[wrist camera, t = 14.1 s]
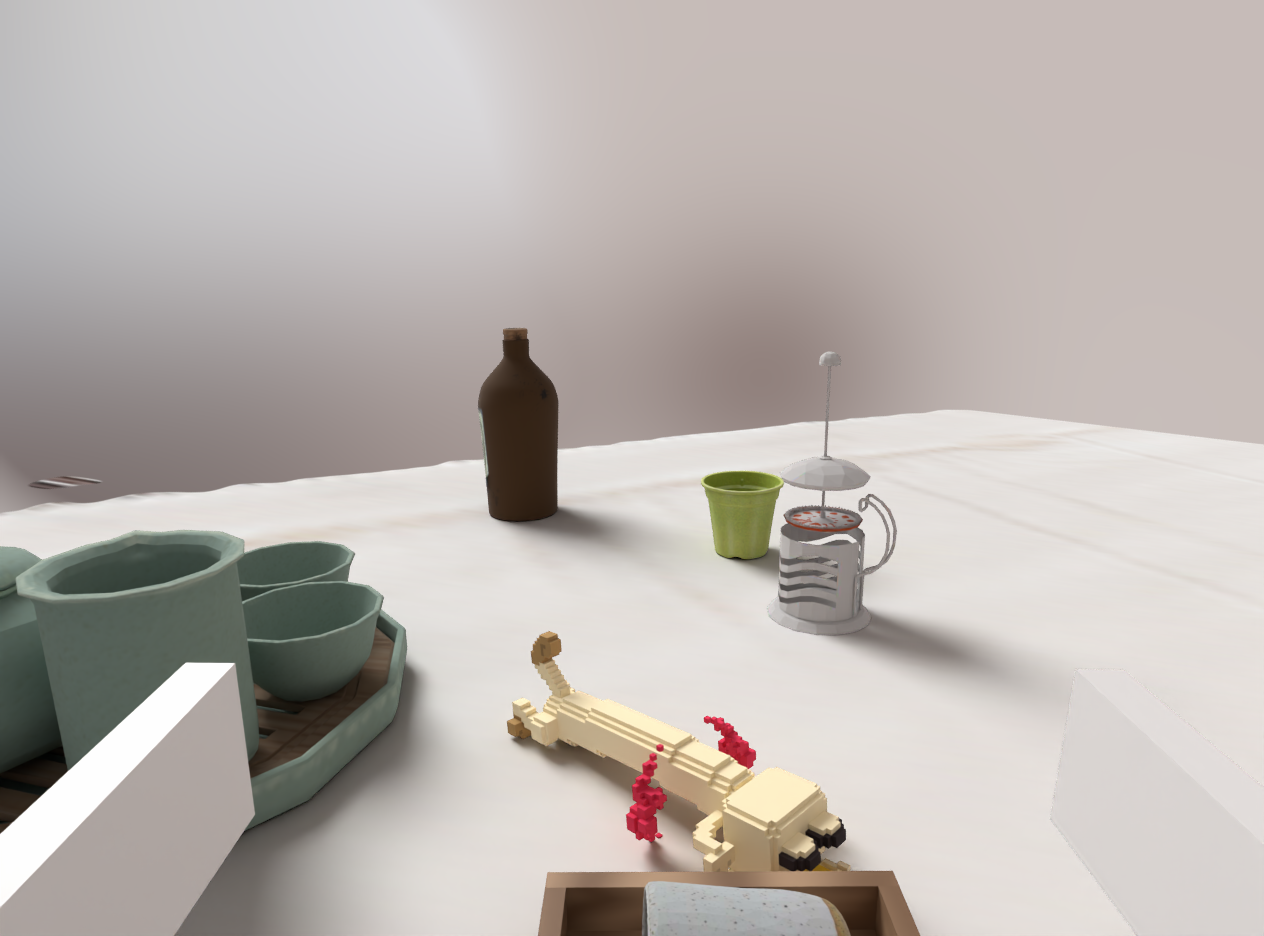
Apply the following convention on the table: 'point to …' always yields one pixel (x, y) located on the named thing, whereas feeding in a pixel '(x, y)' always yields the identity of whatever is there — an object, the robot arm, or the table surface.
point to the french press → (824, 547)
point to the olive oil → (519, 434)
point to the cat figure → (690, 778)
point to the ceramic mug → (736, 912)
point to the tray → (613, 901)
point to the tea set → (192, 654)
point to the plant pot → (742, 511)
